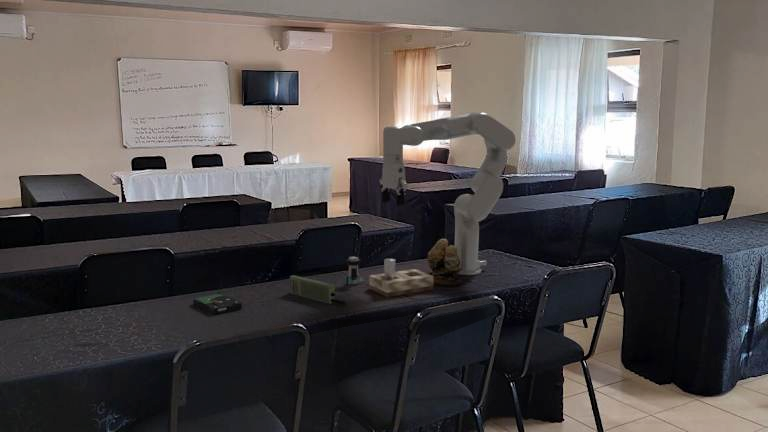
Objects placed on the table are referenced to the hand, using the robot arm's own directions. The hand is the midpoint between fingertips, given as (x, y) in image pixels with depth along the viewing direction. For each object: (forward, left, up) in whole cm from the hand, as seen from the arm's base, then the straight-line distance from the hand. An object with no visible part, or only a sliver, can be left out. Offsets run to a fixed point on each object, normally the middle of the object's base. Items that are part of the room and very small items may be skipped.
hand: (393, 203), depth 257 cm
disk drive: (+72, +6, -30) cm, 78 cm away
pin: (+12, +18, -27) cm, 35 cm away
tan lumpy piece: (-13, +17, -29) cm, 36 cm away
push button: (+18, +3, -29) cm, 34 cm away
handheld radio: (+39, +14, -29) cm, 51 cm away
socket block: (+7, +18, -29) cm, 35 cm away
